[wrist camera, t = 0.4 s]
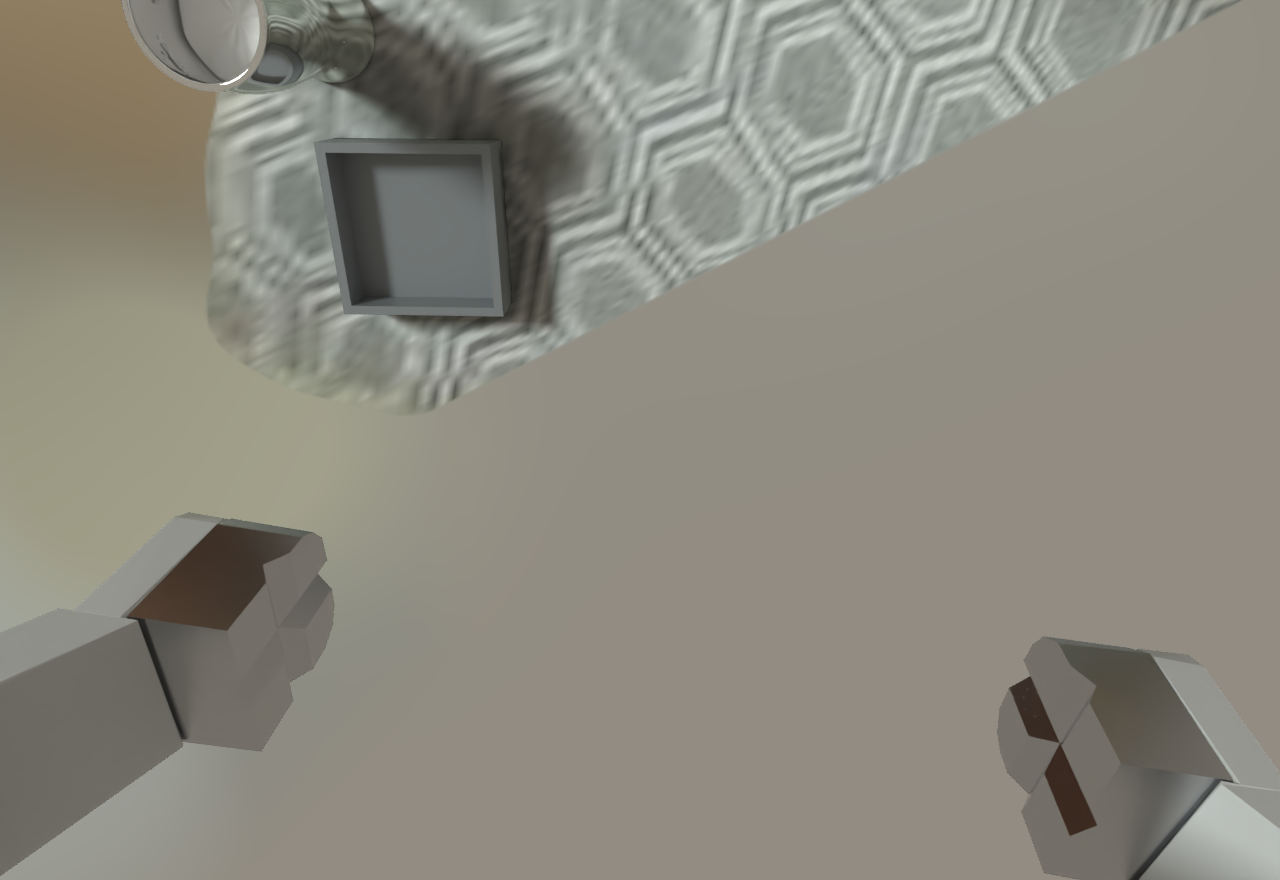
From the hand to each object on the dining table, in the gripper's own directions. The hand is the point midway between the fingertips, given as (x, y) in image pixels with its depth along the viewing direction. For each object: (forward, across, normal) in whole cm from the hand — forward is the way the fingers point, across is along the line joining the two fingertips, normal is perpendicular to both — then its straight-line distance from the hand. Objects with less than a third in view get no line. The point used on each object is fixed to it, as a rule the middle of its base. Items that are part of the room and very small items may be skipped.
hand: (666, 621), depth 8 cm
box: (+44, +19, +9) cm, 49 cm away
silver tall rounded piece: (+45, +25, -2) cm, 52 cm away
